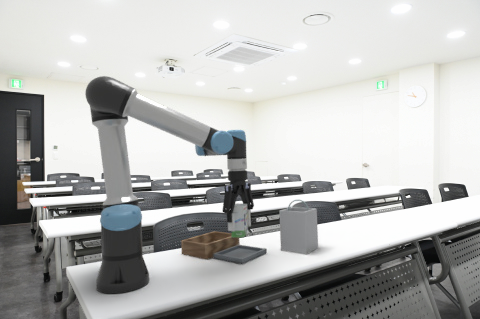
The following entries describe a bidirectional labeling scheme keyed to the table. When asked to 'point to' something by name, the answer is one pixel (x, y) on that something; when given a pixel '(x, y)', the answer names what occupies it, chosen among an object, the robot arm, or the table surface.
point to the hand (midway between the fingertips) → (239, 228)
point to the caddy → (298, 230)
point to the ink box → (240, 220)
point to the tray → (240, 254)
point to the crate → (208, 244)
